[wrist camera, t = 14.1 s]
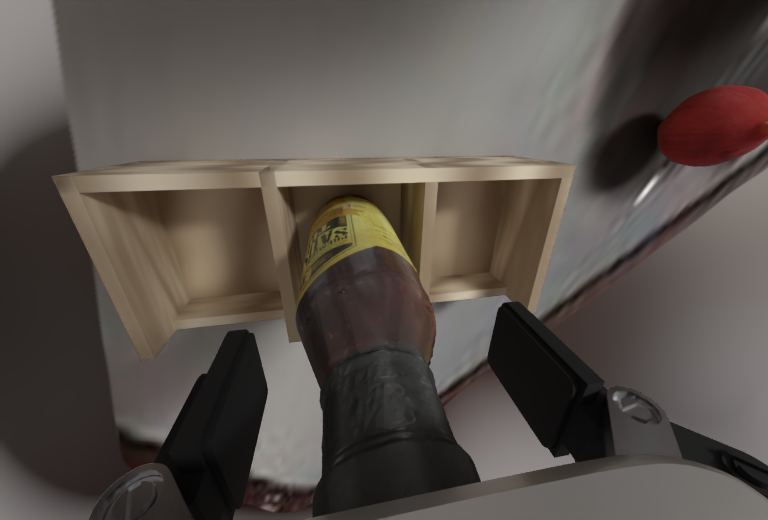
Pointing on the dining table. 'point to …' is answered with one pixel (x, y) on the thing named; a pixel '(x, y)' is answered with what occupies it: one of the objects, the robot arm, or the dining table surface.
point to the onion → (715, 126)
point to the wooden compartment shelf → (304, 231)
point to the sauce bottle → (373, 364)
